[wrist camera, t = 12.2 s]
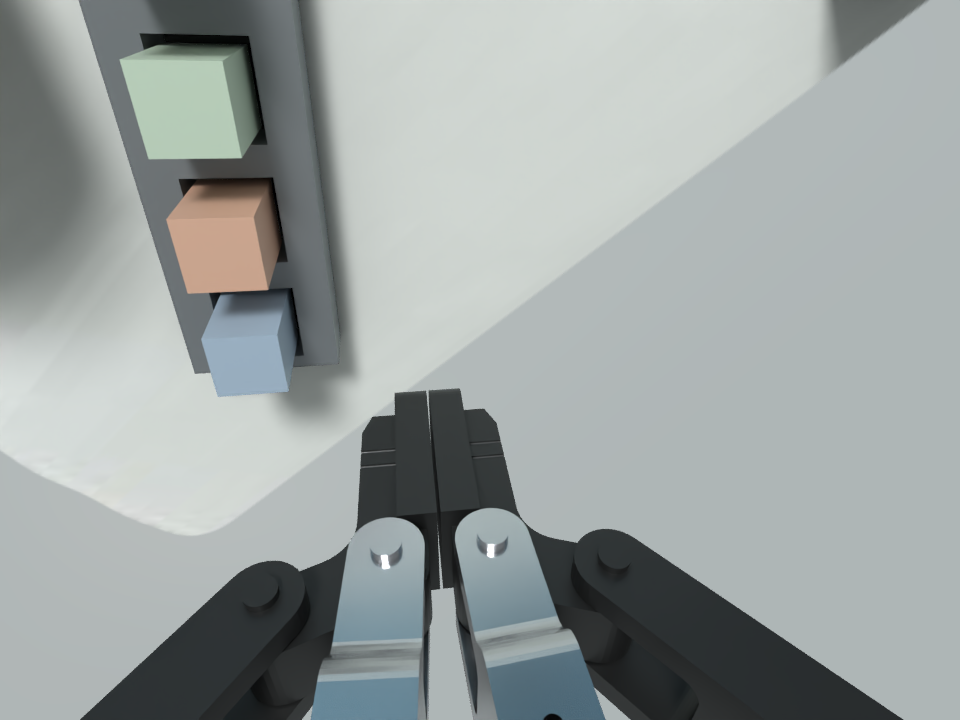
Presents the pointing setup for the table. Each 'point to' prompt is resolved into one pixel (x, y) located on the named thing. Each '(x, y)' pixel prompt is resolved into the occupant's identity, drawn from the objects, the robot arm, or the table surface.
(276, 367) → the slate key
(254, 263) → the terracotta key
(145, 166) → the grey long flat block
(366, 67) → the table surface
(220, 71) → the sage key
